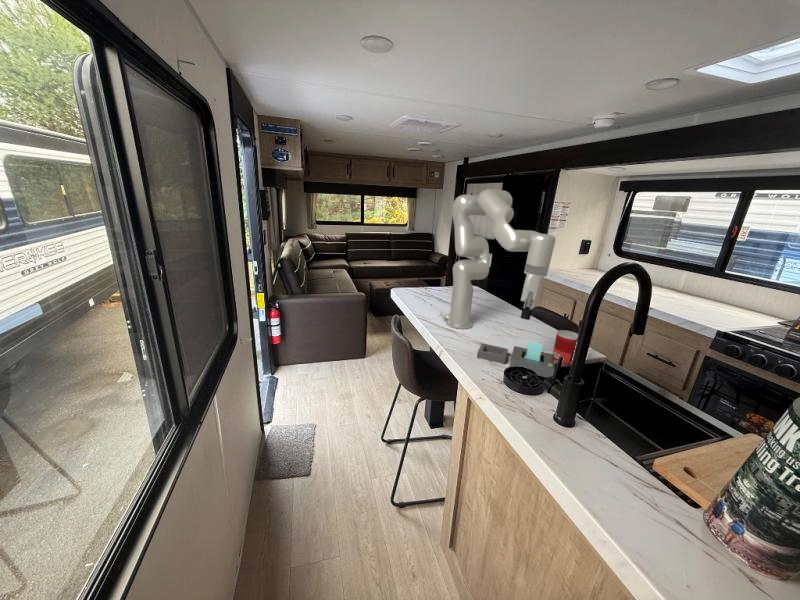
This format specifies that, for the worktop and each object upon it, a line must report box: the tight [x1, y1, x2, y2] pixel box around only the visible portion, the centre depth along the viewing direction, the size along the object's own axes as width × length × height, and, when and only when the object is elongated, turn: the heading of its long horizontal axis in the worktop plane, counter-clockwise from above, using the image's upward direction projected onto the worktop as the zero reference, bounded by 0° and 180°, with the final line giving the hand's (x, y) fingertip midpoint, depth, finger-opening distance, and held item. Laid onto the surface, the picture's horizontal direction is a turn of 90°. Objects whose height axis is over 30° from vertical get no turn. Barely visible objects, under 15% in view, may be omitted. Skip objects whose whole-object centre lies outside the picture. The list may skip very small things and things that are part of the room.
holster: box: [476, 342, 509, 365], centre depth 118 cm, size 10×9×2 cm
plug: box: [524, 340, 543, 362], centre depth 111 cm, size 5×4×9 cm
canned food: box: [552, 329, 579, 366], centre depth 117 cm, size 8×8×11 cm
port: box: [509, 345, 556, 379], centre depth 111 cm, size 14×12×5 cm
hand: (525, 318), depth 113 cm, fingers closed
